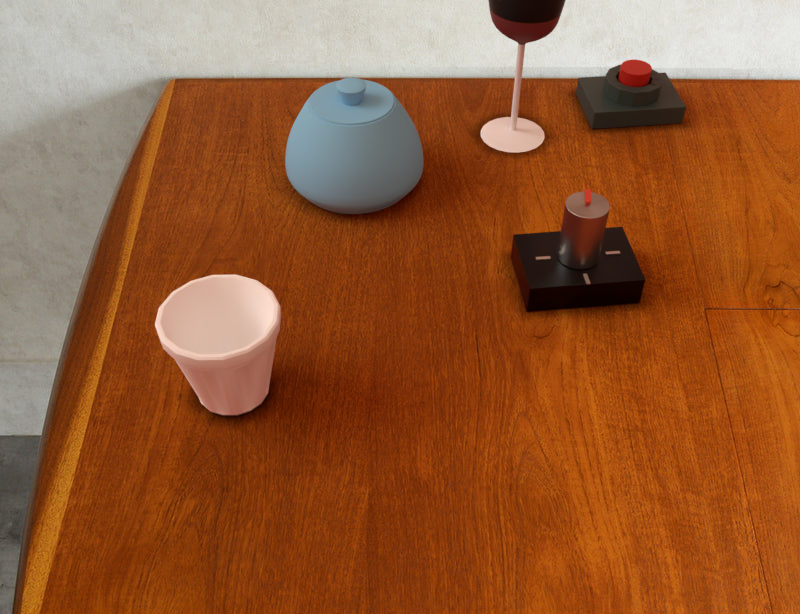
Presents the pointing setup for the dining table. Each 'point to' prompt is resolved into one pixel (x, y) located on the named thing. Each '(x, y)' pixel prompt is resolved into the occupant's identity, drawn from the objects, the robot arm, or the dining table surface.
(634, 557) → the dining table surface
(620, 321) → the dining table surface
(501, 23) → the wineglass
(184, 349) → the cup
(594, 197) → the knob
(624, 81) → the button
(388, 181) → the sugar bowl
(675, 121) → the switch block
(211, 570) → the dining table surface
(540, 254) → the panel
